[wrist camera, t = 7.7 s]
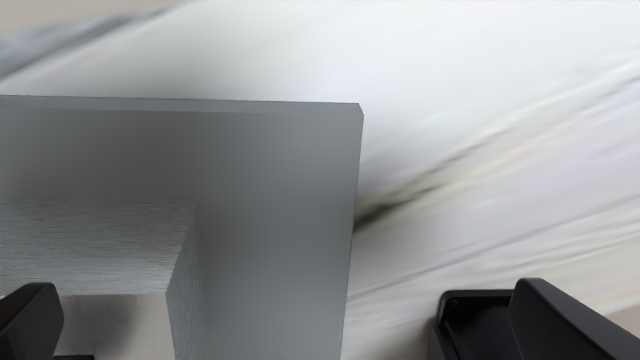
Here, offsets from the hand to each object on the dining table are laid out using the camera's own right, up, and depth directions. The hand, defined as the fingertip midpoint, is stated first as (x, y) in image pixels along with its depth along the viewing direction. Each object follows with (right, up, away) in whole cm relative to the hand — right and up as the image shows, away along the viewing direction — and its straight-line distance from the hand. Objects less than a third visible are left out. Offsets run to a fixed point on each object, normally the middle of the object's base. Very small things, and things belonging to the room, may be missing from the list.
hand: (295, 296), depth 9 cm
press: (-9, -2, +12) cm, 15 cm away
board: (-9, -1, +14) cm, 16 cm away
